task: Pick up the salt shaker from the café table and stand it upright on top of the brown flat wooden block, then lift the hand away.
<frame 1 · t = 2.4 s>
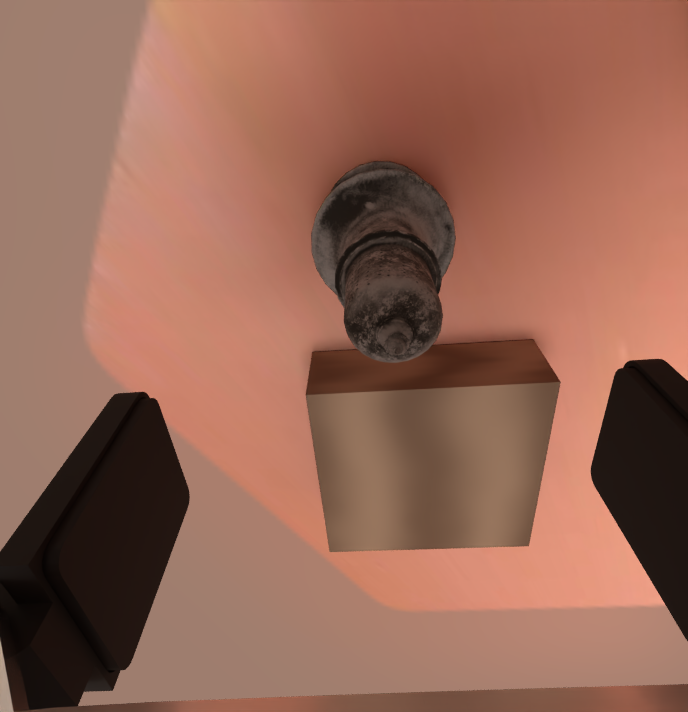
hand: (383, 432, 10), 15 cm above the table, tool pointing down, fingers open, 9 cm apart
salt shaker: (379, 219, 22), on the table
brown flat wooden block: (420, 430, 29), on the table
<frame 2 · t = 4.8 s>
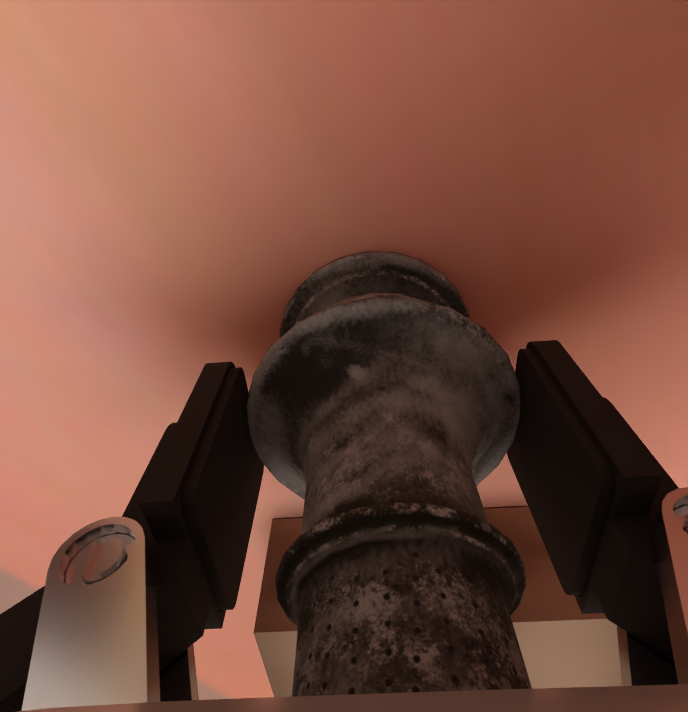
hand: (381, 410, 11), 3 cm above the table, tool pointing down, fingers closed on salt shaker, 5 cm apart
salt shaker: (374, 339, 13), on the table, touching gripper
brown flat wooden block: (436, 609, 20), on the table
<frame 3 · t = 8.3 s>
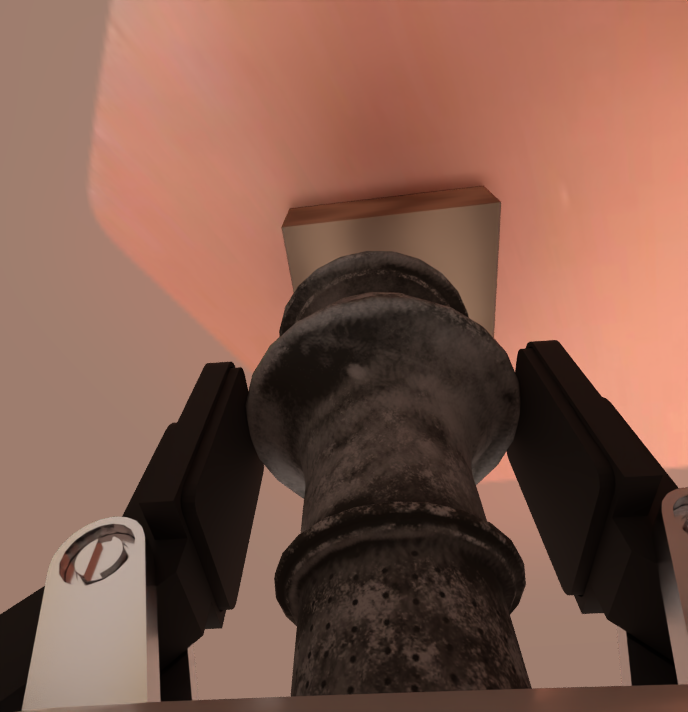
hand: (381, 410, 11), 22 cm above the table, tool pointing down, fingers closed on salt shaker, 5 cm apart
salt shaker: (373, 338, 13), point 18 cm above the table, touching gripper
brown flat wooden block: (391, 286, 32), on the table
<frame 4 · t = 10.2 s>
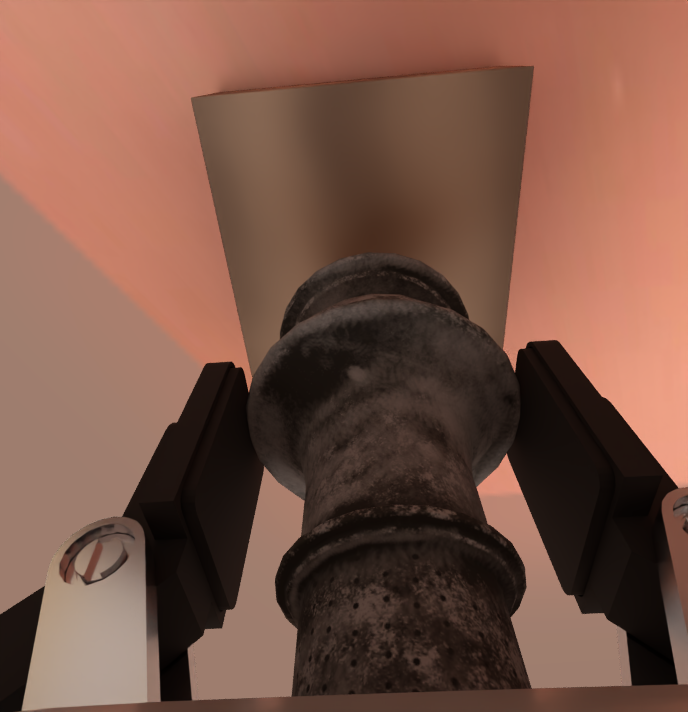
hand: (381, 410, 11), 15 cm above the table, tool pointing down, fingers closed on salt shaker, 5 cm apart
salt shaker: (374, 340, 13), point 11 cm above the table, touching gripper
brown flat wooden block: (365, 221, 23), on the table
when the fingers open (8 cm above the table, at t = 11.8 s): salt shaker drops 1 cm, resting on brown flat wooden block.
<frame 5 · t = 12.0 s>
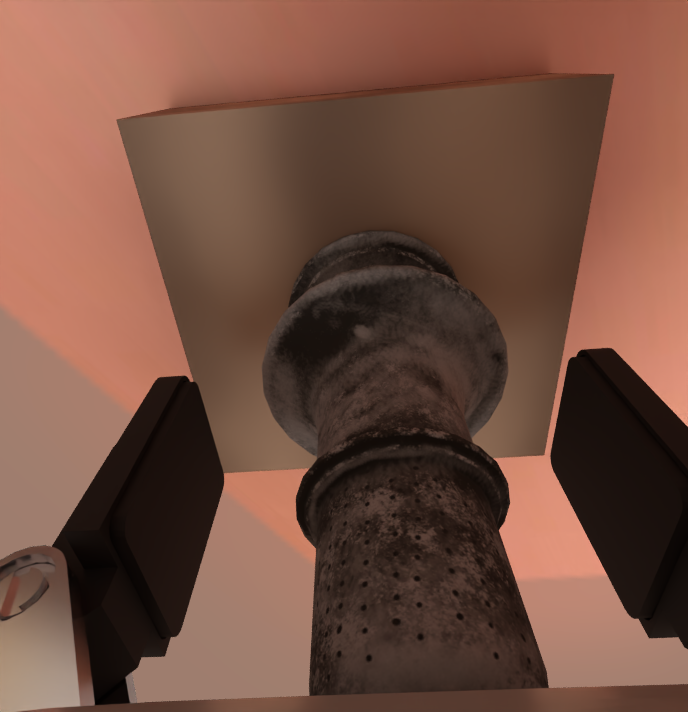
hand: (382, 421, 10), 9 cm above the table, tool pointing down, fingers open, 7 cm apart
salt shaker: (374, 313, 15), point 4 cm above the table, touching brown flat wooden block
brown flat wooden block: (367, 272, 18), on the table
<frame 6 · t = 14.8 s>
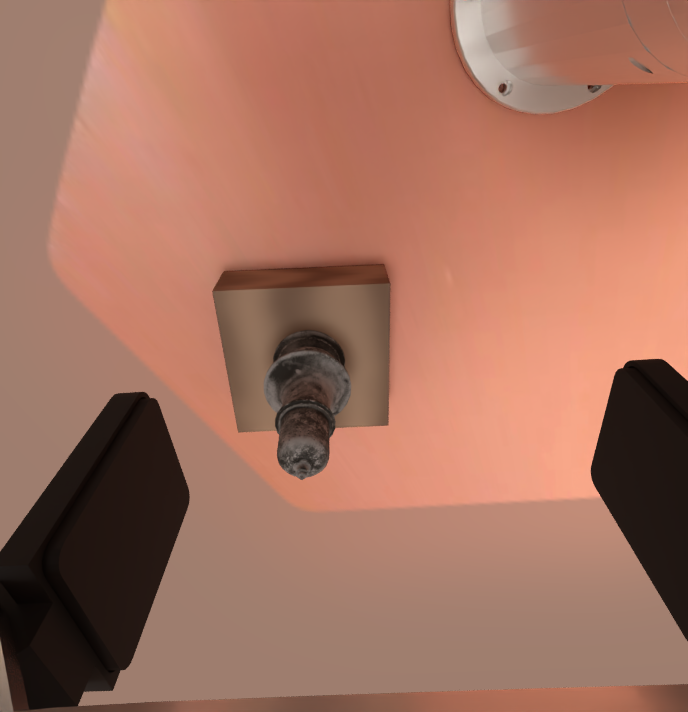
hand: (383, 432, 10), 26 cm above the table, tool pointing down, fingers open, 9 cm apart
salt shaker: (309, 361, 35), point 4 cm above the table, touching brown flat wooden block
brown flat wooden block: (309, 339, 38), on the table
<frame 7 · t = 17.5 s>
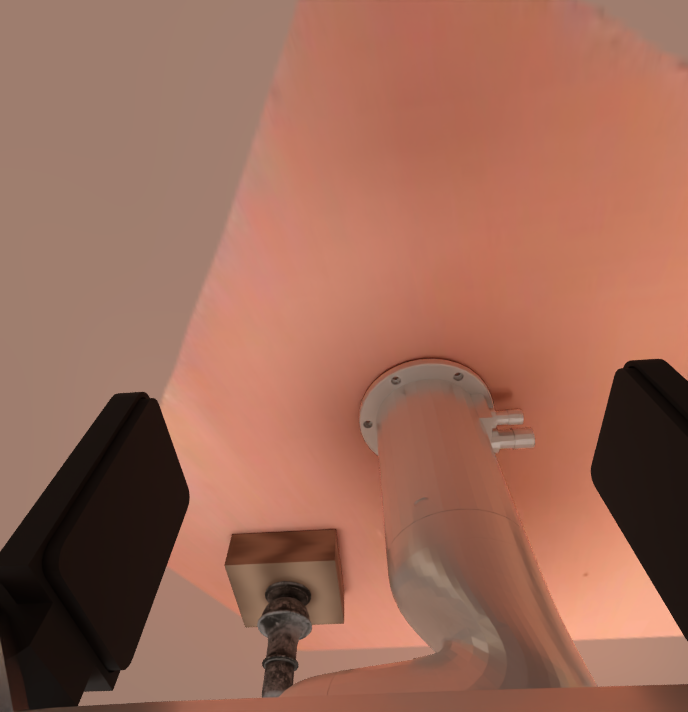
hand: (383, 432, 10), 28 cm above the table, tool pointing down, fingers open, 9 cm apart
salt shaker: (288, 593, 54), point 4 cm above the table, touching brown flat wooden block
brown flat wooden block: (290, 564, 57), on the table
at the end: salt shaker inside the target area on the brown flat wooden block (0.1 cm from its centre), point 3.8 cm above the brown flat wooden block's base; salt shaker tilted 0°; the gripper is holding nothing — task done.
